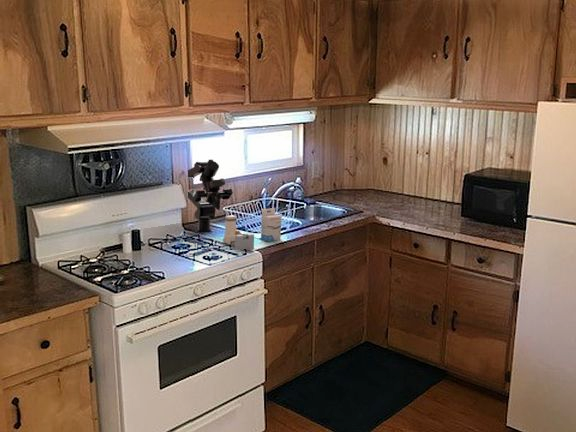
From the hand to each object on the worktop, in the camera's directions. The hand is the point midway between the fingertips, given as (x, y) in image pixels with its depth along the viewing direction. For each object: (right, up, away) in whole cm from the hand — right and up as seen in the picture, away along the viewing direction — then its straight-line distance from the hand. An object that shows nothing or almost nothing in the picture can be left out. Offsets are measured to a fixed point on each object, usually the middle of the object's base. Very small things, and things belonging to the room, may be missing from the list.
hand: (218, 209), depth 296 cm
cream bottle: (+7, -15, -8) cm, 19 cm away
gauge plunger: (+12, -13, -16) cm, 24 cm away
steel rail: (+8, -16, -10) cm, 21 cm away
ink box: (+25, -15, +1) cm, 29 cm away
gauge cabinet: (+13, -18, -18) cm, 29 cm away
